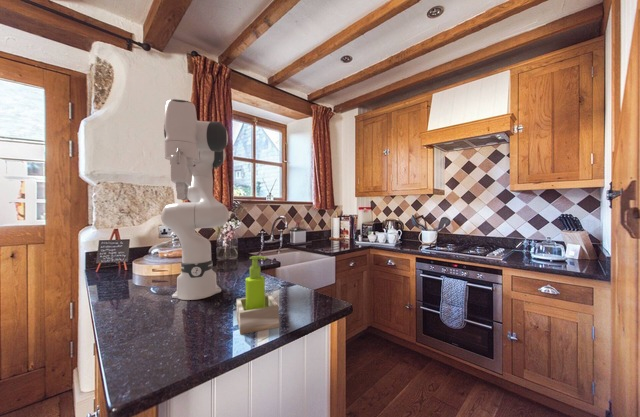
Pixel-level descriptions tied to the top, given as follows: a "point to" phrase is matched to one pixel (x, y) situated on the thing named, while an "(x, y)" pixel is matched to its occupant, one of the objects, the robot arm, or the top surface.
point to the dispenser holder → (257, 316)
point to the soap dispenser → (255, 286)
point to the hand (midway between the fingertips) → (182, 199)
